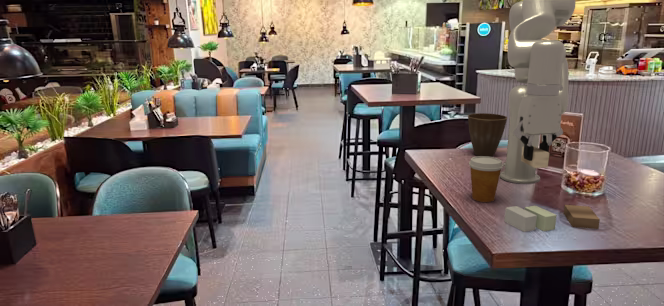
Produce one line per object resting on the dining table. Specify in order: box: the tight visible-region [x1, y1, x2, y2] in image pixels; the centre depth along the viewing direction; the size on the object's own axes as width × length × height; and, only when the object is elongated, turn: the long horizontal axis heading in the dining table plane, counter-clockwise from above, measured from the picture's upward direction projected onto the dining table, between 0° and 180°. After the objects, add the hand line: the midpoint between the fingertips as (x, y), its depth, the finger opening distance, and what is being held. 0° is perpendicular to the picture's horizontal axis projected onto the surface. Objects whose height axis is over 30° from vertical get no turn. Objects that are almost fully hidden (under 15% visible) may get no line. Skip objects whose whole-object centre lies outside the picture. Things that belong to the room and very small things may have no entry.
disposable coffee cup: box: [468, 156, 504, 203], centre depth 132 cm, size 10×10×12 cm
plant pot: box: [467, 112, 508, 157], centre depth 180 cm, size 15×15×16 cm
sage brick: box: [524, 205, 557, 232], centre depth 114 cm, size 7×4×4 cm, turn 20°
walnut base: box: [563, 204, 601, 230], centre depth 116 cm, size 9×6×3 cm, turn 166°
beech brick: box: [521, 146, 550, 169], centre depth 119 cm, size 7×4×4 cm, turn 7°
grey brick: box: [504, 205, 537, 233], centre depth 113 cm, size 7×4×4 cm, turn 20°
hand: (535, 158), depth 119 cm, fingers closed on beech brick, 3 cm apart
